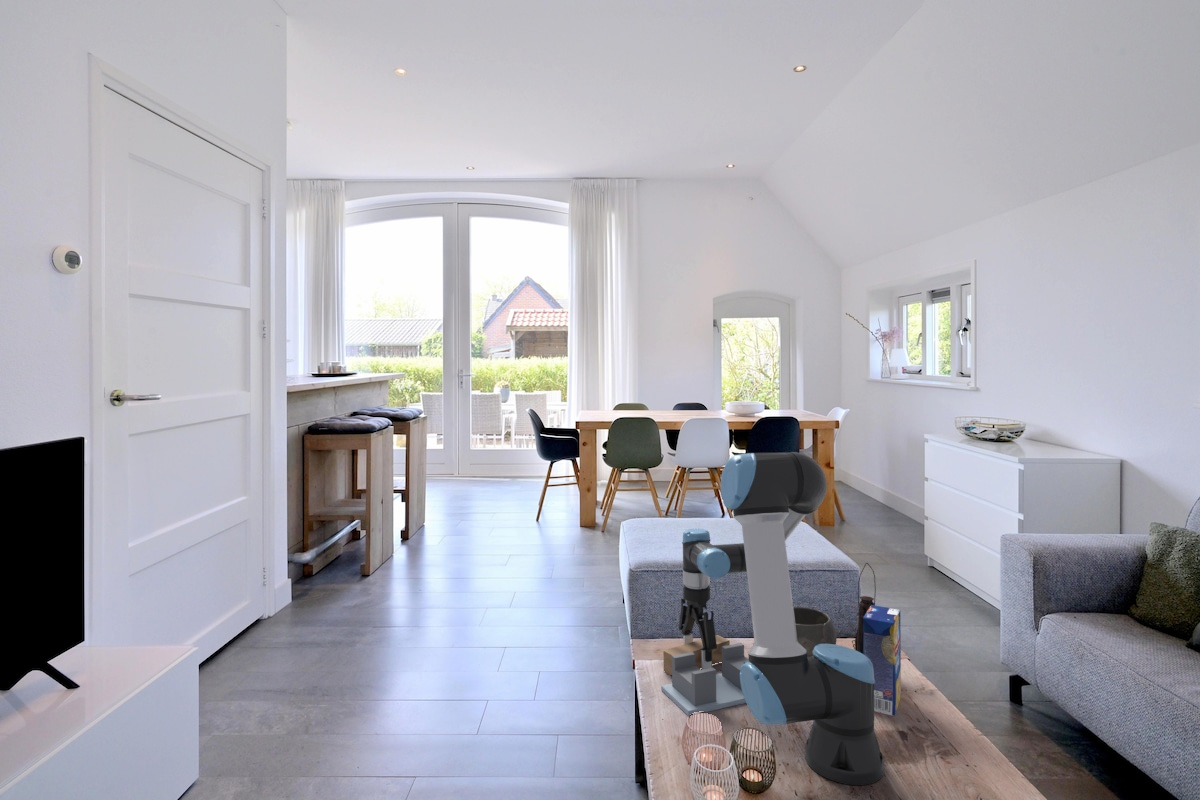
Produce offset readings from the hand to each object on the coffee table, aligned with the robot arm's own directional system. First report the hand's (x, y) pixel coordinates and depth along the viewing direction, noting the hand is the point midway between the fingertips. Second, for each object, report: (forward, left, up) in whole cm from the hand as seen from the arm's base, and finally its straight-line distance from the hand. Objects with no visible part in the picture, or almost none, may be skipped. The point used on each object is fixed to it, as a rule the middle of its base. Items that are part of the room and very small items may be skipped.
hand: (697, 664), depth 177 cm
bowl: (-8, -30, -1) cm, 31 cm away
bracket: (-16, +3, 0) cm, 16 cm away
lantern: (-22, -40, 0) cm, 46 cm away
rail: (0, 0, -1) cm, 1 cm away
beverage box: (-36, -31, 0) cm, 48 cm away
